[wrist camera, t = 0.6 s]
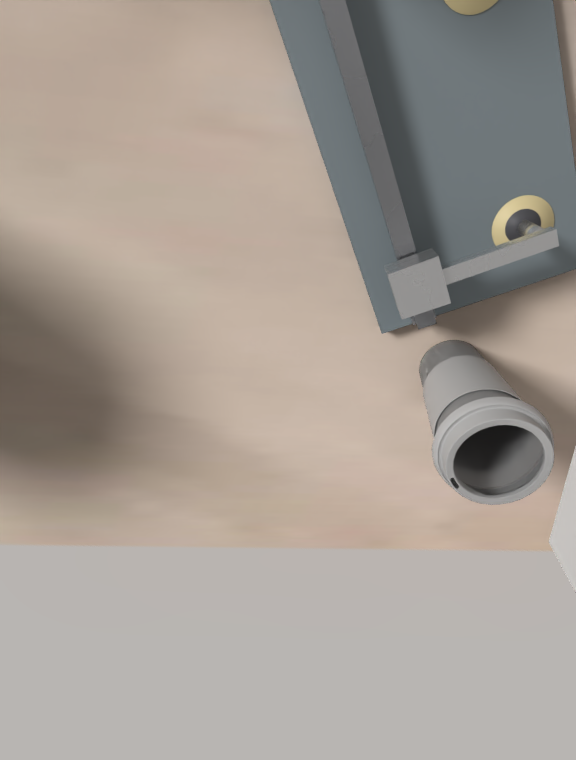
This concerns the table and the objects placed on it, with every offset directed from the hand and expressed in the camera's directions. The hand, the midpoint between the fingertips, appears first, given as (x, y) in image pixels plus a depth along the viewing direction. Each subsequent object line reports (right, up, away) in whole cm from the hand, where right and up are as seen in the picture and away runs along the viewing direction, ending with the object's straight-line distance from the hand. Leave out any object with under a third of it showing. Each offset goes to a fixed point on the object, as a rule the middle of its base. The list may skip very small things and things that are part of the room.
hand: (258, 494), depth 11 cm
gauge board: (+8, +21, +18) cm, 29 cm away
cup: (+13, +4, +28) cm, 31 cm away
